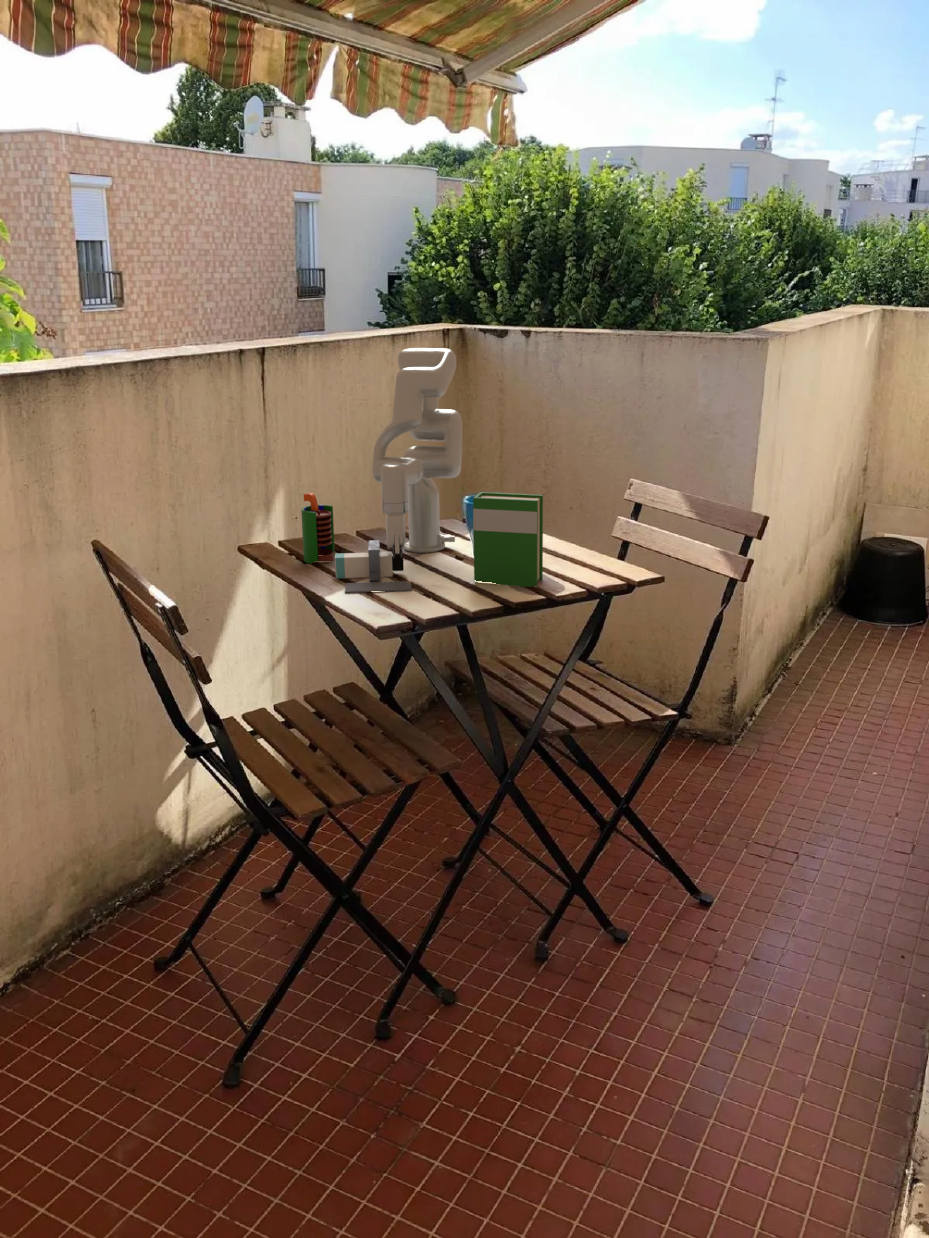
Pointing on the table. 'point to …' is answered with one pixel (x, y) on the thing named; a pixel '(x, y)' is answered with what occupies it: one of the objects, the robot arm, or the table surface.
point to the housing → (374, 560)
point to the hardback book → (508, 538)
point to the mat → (377, 587)
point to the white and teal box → (361, 565)
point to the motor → (317, 531)
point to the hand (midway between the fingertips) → (398, 570)
